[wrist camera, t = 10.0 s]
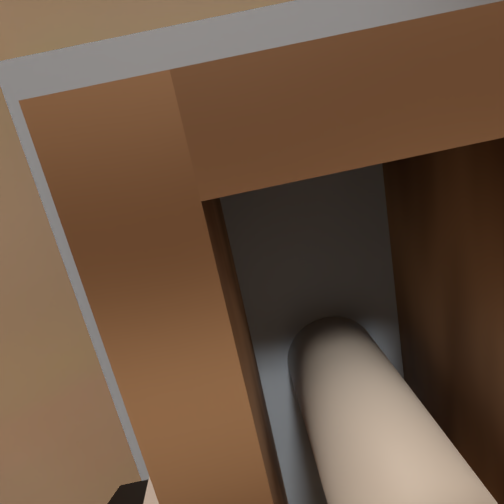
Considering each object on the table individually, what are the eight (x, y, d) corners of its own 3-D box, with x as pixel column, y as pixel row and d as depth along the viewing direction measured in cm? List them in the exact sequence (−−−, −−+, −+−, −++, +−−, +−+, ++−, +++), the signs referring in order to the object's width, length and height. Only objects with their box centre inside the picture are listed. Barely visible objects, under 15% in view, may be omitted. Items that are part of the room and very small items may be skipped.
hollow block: (463, 518, 15) (618, 762, 9) (255, 565, 15) (276, 842, 9) (436, 61, 10) (716, -44, 4) (135, 124, 10) (18, 100, 4)
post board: (17, 71, 11) (-369, -60, 4) (515, -32, 11) (1038, -340, 4) (193, 584, 16) (171, 913, 9) (518, 511, 16) (733, 780, 10)
